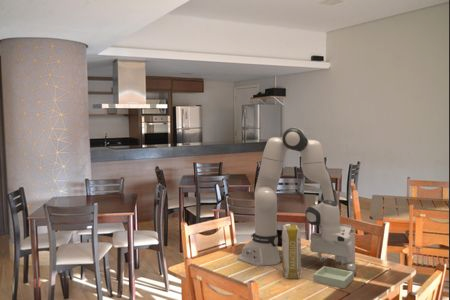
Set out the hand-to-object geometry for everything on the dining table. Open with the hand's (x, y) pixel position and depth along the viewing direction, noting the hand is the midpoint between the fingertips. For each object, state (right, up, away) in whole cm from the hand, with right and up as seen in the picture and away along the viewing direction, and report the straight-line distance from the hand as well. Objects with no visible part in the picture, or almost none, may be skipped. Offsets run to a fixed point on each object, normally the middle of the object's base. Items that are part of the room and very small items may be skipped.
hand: (331, 263), depth 190 cm
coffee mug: (-17, -1, +40) cm, 44 cm away
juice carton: (-20, -4, -6) cm, 21 cm away
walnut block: (-1, -3, 0) cm, 3 cm away
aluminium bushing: (+7, -3, -6) cm, 10 cm away
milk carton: (+10, -2, +10) cm, 14 cm away
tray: (-3, -4, -13) cm, 14 cm away
